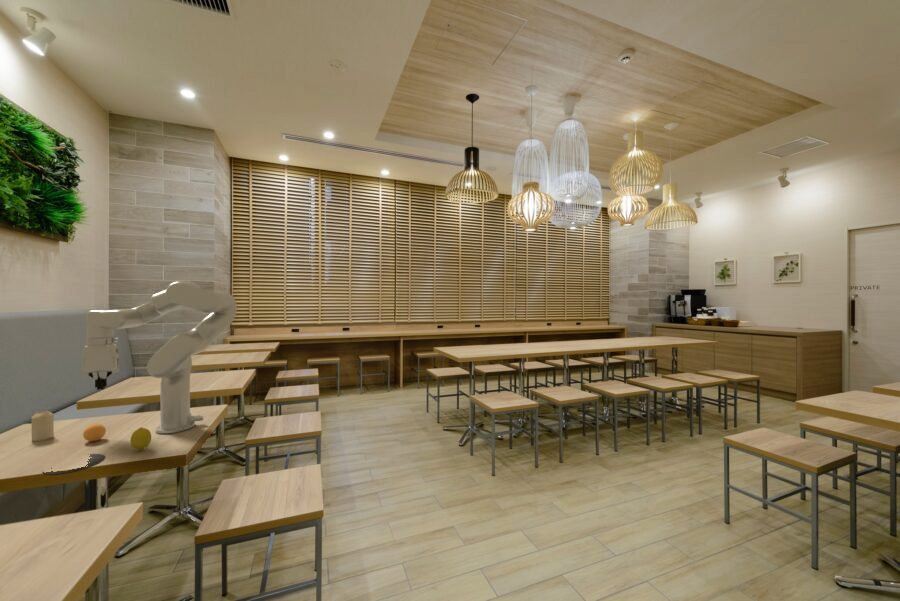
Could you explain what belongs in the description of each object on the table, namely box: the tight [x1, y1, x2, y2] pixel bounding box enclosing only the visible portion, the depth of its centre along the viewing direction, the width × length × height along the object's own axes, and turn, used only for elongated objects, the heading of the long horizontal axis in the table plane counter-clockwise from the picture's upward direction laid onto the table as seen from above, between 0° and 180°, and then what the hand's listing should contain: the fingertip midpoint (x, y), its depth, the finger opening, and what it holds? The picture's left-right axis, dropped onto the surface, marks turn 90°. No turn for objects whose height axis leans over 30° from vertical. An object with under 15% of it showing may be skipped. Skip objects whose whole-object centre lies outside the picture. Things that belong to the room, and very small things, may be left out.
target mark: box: [44, 453, 106, 476], centre depth 118 cm, size 14×14×1 cm
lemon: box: [129, 426, 152, 452], centre depth 128 cm, size 6×6×8 cm
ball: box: [82, 423, 107, 442], centre depth 136 cm, size 6×6×6 cm
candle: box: [30, 410, 55, 442], centre depth 138 cm, size 6×6×10 cm
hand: (101, 388), depth 144 cm, fingers closed
